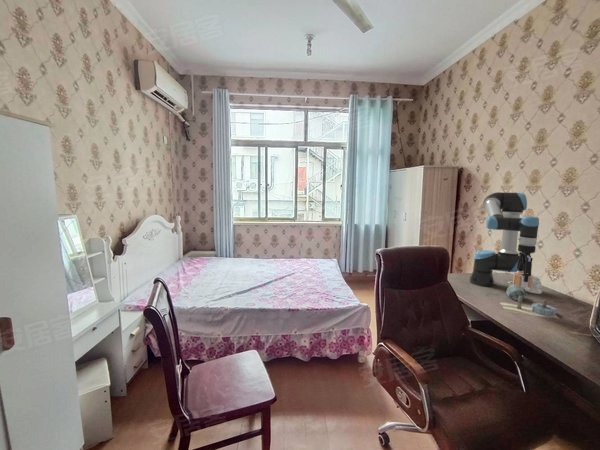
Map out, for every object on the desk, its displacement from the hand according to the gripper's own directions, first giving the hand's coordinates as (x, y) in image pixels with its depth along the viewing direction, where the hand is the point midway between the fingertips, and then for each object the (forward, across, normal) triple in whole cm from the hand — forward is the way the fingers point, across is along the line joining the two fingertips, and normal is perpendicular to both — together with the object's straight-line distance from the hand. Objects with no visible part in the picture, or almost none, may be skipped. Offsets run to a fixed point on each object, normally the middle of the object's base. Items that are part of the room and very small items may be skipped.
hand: (522, 284), depth 164 cm
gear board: (+15, 0, +4) cm, 15 cm away
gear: (+14, 0, +11) cm, 18 cm away
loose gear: (0, 0, 0) cm, 0 cm away
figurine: (+15, -40, +18) cm, 46 cm away
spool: (+15, -19, +3) cm, 25 cm away
